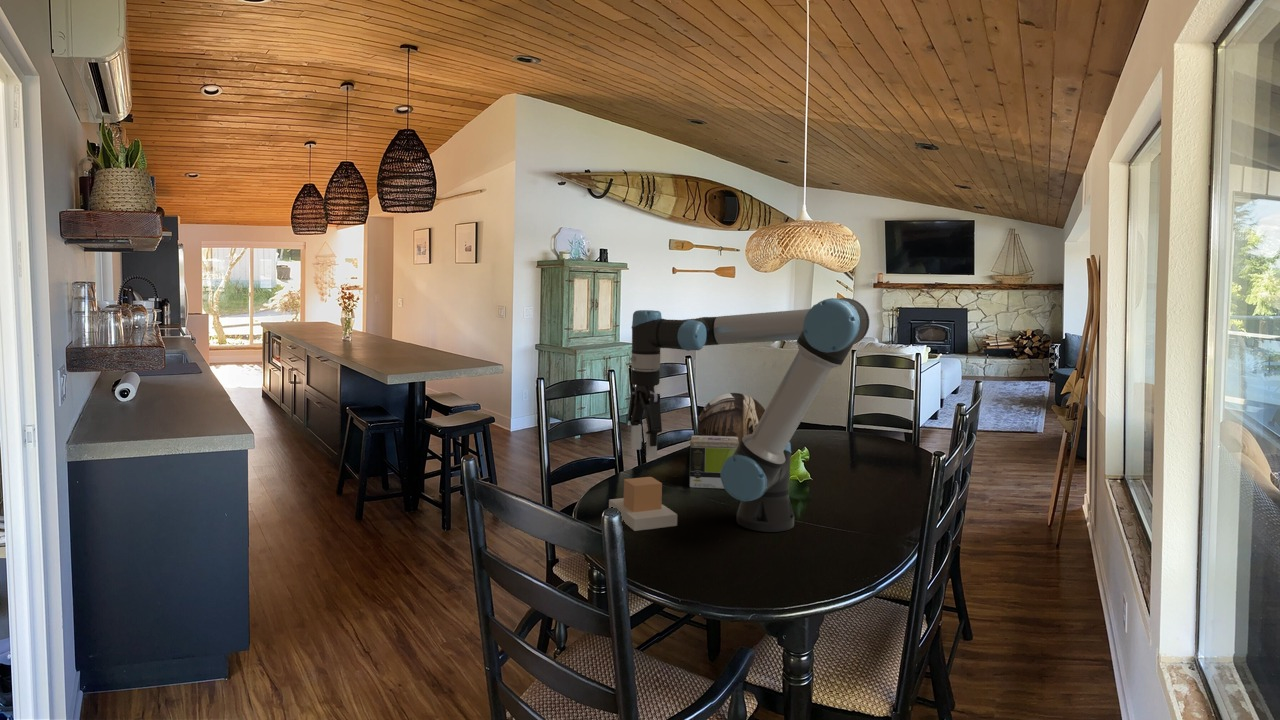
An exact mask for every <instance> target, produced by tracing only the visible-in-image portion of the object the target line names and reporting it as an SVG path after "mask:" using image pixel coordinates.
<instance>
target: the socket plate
mask: <svg viewBox="0 0 1280 720" xmlns="http://www.w3.org/2000/svg"><path fill="white" fill-rule="evenodd" d="M623 502H624V497H621V498H612V499H608V509H609V508H611V507H613V508H617V509H618V510H619V511H620V512H621V516H622V520H621V521H622V522H623V520H624V522H625V523H624V522H623V523H624V524H625V525H627V526H628V527H629V528H630V529H631V530H633V531H634V532H637V531H644V530H645V531H646V530H654V529H660V528H662V529H663V528H670V527H676V526H678V513H676V512H675V511H673V510H671V508H668V506H666V505H664V504H662V507H661V509H658V510H650V511H641V512H633V511H631V510H630V509H629V508H627V507H626V506H625V505H623Z"/></svg>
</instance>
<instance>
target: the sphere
mask: <svg viewBox="0 0 1280 720" xmlns="http://www.w3.org/2000/svg"><path fill="white" fill-rule="evenodd" d="M765 410H766V408H764V406H763V405H762V404H761V403H760V402H759V401H758V400H756V399H755V398H754V397H752V396H750V395H746V394H744V393H739V392H729V393H724V394H720V395H718V396H716V397H714V398H713V399H711V400H710V401H709V402H708V403H707V404H706V405H705V406H704V407H703V409H702V410H701V411H700V414H699V415H698V420H697V426H696V433H697V435H698V436H735V437H738V441H739V443H740V442H741V440H742V438H743V437H744V436H745V435H749V434H752V433H753V431H754V430H755V428H756V426H757V424H758V422H759V421H760V419H761V417H762V415H763V414H764V412H765Z"/></svg>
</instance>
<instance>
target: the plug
mask: <svg viewBox="0 0 1280 720" xmlns="http://www.w3.org/2000/svg"><path fill="white" fill-rule="evenodd" d="M662 494H663V482H660V481H659V480H658V479H656V478H654V476H653V477H652V476H645V477H643V476H642V477H635V478H625V479H623V498H624V502H623V505H625V506H626V507H627V508H629V509H630V510H631V511H633V512H641V511H650V510H658V509H661V507H662V503H663V502H662V501H663V499H662V498H663V495H662Z"/></svg>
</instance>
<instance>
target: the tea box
mask: <svg viewBox="0 0 1280 720" xmlns="http://www.w3.org/2000/svg"><path fill="white" fill-rule="evenodd" d="M690 437H691V438H690V442H689V444H690V445H689V447H690V448H689V487H690V488H699V489H723V490H725V488H724V487H723V484H722V481H721V468H722V466H723V464H724V463H725V461H726V460H727V459H728V458H729V457H731V456H733V454H734V452H735V451H736V449H737V447H738V445H739V441H738V437H735V436H698V435H691V436H690Z"/></svg>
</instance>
